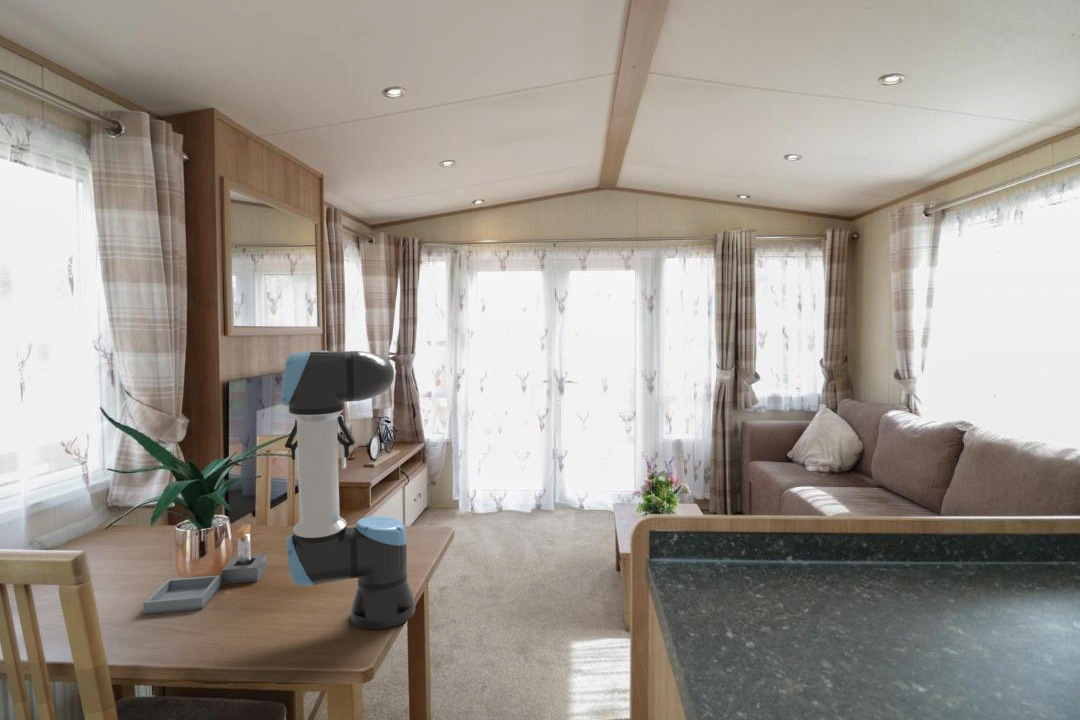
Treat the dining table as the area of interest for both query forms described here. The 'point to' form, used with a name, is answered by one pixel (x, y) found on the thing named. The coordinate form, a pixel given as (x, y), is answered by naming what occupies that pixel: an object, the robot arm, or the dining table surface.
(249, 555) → the t key
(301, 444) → the robot arm
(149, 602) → the tray
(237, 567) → the block
